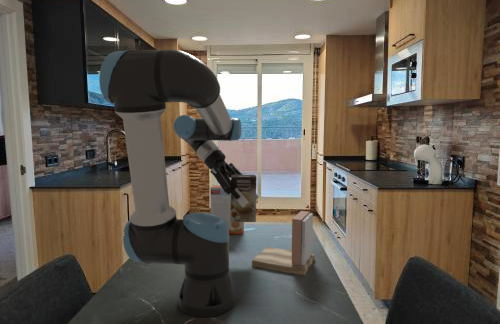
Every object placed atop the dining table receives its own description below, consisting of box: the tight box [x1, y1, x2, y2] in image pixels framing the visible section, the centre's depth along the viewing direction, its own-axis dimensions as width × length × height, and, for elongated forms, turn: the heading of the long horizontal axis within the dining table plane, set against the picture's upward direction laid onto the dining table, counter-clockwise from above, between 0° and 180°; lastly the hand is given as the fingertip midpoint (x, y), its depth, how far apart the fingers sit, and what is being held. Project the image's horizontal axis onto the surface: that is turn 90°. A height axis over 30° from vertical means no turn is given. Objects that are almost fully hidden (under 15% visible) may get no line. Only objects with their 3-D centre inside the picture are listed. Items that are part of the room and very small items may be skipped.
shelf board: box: [251, 246, 315, 276], centre depth 116 cm, size 14×18×2 cm
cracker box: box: [210, 184, 245, 235], centre depth 148 cm, size 14×6×21 cm, turn 84°
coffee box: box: [230, 174, 257, 223], centre depth 120 cm, size 9×6×16 cm
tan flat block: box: [291, 210, 310, 265], centre depth 113 cm, size 11×3×15 cm, turn 157°
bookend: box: [292, 212, 314, 267], centre depth 112 cm, size 11×4×15 cm, turn 157°
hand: (251, 202), depth 119 cm, fingers closed on coffee box, 9 cm apart
